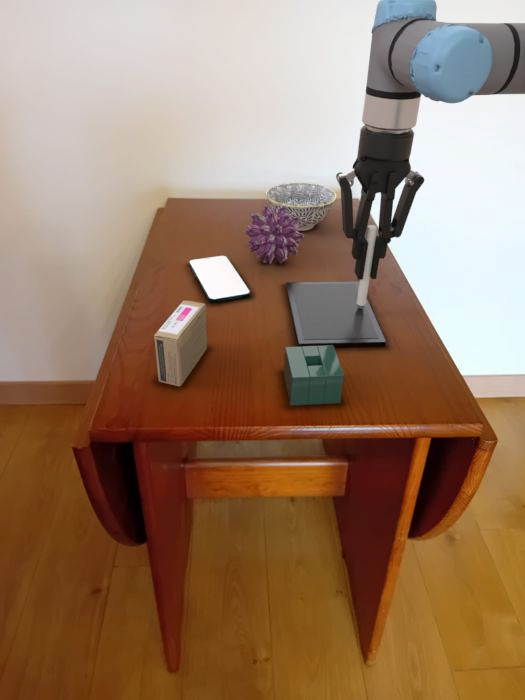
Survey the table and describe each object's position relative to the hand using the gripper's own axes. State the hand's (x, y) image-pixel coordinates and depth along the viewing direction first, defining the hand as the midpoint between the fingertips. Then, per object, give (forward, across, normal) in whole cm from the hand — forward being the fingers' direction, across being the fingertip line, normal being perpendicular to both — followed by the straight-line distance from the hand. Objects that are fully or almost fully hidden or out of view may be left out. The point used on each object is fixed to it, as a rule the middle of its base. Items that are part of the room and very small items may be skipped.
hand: (365, 275), depth 90 cm
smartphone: (+8, +24, -13) cm, 29 cm away
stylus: (+6, 0, 0) cm, 6 cm away
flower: (+8, +13, -21) cm, 26 cm away
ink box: (+8, +30, +13) cm, 34 cm away
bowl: (+8, +4, -39) cm, 40 cm away
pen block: (+7, +12, +20) cm, 24 cm away
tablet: (+8, +5, 0) cm, 9 cm away
